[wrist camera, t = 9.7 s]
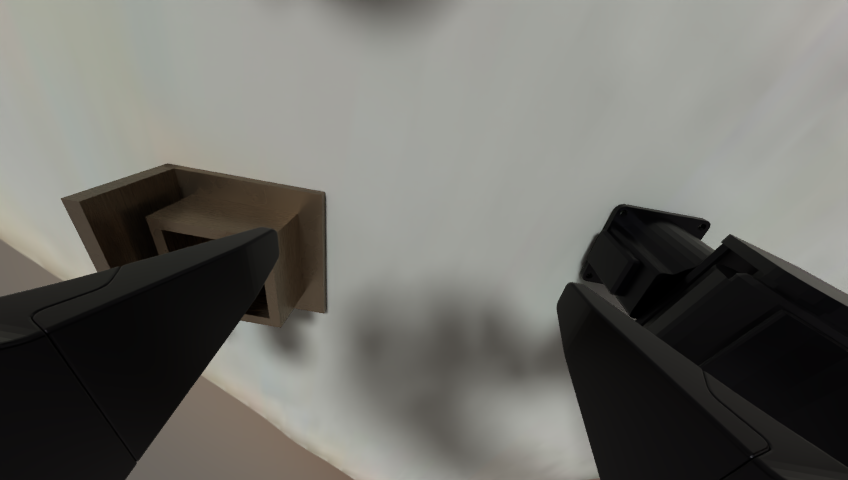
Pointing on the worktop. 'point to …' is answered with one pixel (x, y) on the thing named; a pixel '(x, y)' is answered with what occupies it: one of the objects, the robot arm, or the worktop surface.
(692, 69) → the worktop surface
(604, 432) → the robot arm
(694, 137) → the worktop surface
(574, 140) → the worktop surface
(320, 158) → the worktop surface
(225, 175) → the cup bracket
